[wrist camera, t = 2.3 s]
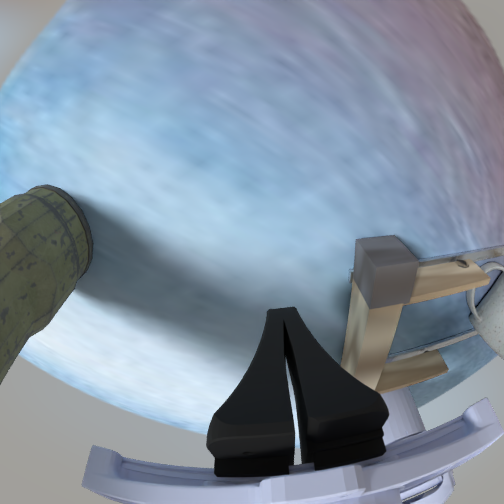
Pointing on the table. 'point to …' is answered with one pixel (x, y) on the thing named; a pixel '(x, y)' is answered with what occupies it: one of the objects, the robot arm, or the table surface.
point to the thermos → (38, 263)
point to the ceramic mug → (490, 311)
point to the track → (473, 255)
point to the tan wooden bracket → (395, 310)
